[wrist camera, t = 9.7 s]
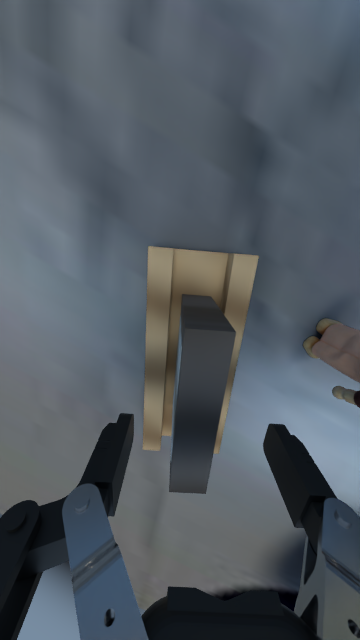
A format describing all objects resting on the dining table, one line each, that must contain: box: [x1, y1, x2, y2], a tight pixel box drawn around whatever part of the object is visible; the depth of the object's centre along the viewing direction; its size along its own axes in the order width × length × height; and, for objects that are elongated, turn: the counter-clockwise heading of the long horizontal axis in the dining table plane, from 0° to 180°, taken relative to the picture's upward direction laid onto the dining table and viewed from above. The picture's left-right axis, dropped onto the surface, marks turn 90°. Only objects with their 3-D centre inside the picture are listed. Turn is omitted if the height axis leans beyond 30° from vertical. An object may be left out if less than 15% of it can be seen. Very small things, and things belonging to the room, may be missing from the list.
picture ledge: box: [143, 246, 259, 454], centre depth 19 cm, size 20×8×4 cm, turn 175°
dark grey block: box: [169, 294, 236, 494], centre depth 15 cm, size 12×3×8 cm, turn 175°
